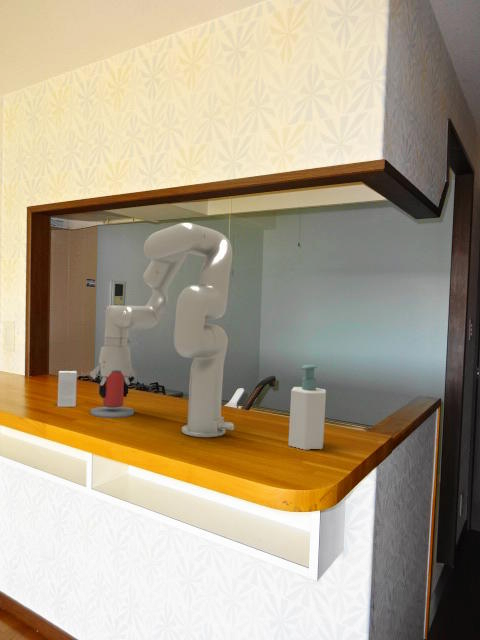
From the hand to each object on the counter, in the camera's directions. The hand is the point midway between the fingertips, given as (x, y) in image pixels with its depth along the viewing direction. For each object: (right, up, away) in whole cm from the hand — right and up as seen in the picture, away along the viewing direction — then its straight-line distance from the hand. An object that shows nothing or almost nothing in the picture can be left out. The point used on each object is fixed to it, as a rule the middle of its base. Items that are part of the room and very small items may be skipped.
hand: (113, 396), depth 164 cm
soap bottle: (+60, -9, -28) cm, 67 cm away
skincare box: (-19, -5, +9) cm, 21 cm away
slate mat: (0, -6, 0) cm, 6 cm away
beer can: (0, -3, 0) cm, 3 cm away
